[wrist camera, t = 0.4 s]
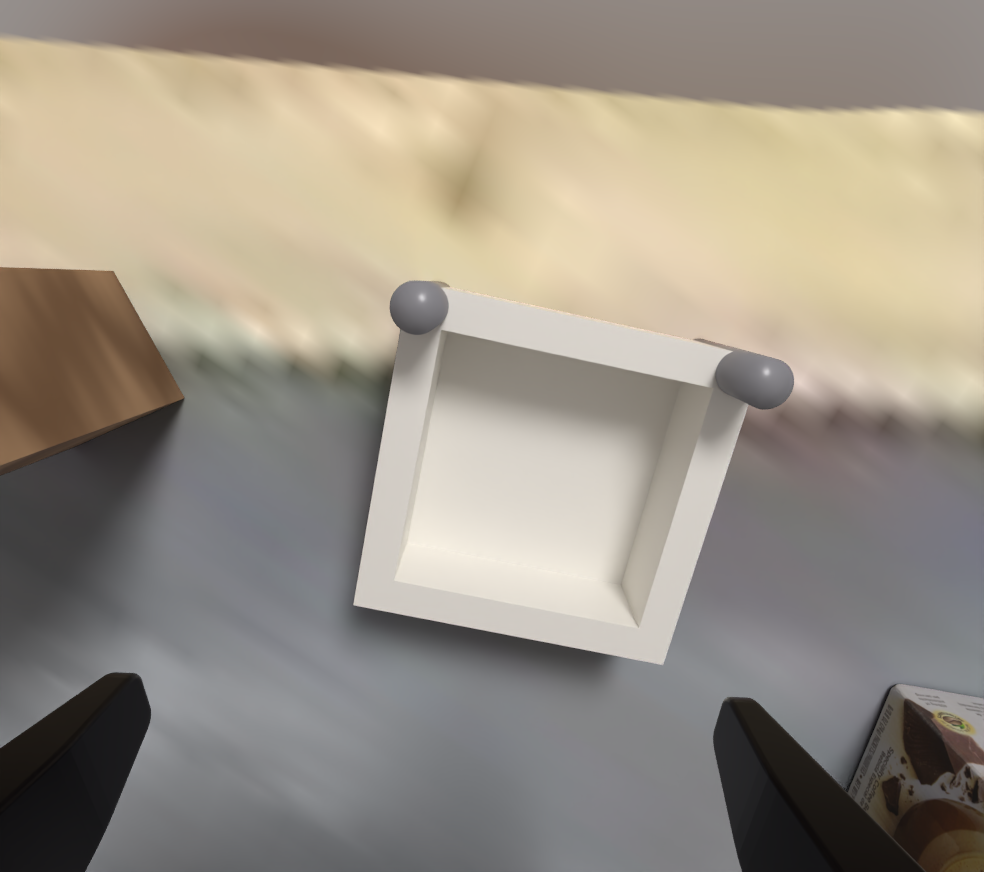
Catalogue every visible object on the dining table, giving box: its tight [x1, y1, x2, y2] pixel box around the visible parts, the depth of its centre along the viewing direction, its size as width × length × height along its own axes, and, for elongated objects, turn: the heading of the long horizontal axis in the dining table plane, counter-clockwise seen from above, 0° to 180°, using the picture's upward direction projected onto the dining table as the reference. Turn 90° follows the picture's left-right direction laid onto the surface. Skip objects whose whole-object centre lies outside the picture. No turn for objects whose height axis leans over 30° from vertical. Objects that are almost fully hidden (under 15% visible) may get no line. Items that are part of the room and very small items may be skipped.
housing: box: [353, 281, 794, 665], centre depth 20 cm, size 11×11×6 cm
